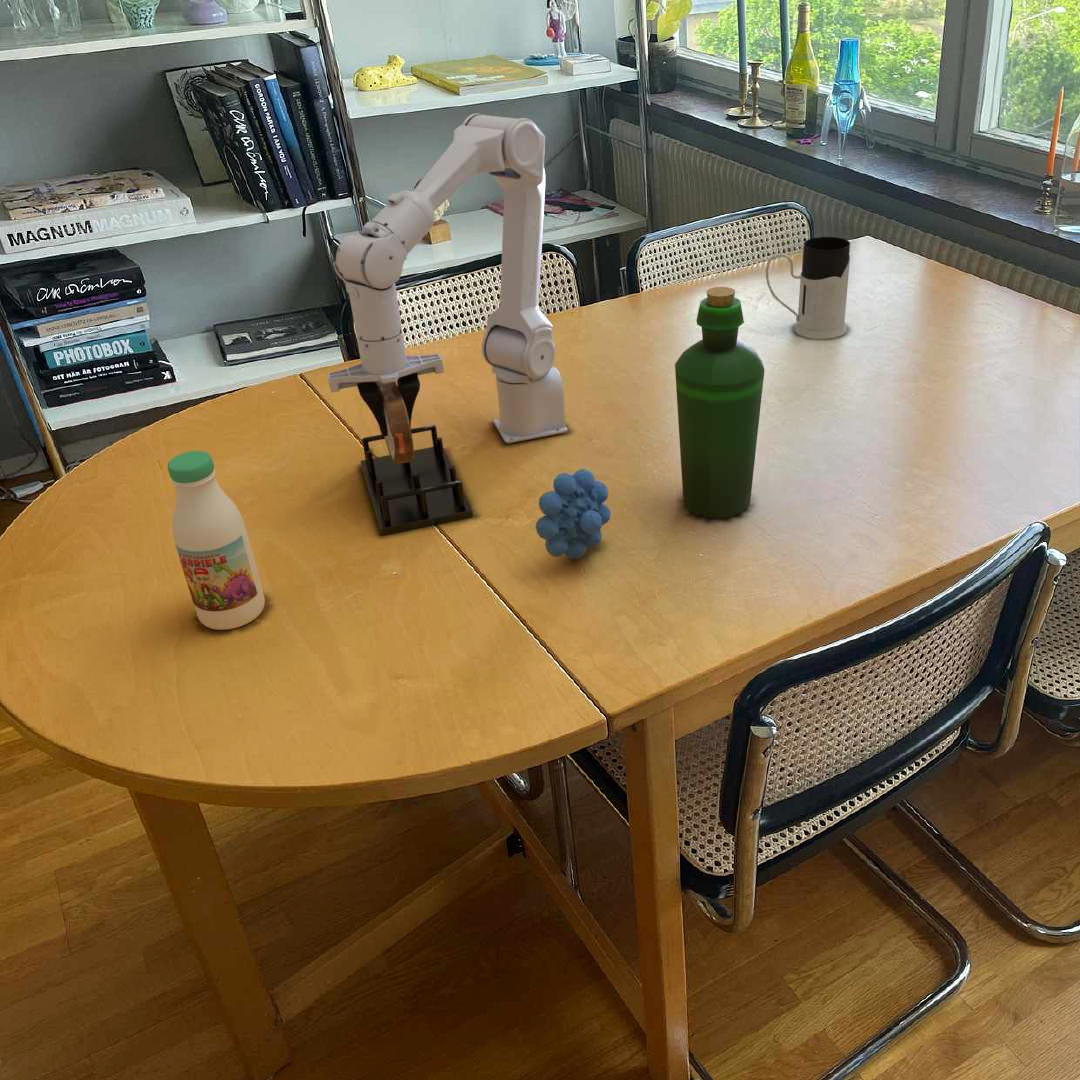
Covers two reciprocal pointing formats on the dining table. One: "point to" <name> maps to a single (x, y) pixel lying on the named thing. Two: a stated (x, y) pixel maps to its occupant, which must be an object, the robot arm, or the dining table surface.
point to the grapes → (573, 514)
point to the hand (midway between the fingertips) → (395, 431)
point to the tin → (396, 424)
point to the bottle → (718, 410)
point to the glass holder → (821, 287)
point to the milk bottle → (213, 546)
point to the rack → (414, 487)
